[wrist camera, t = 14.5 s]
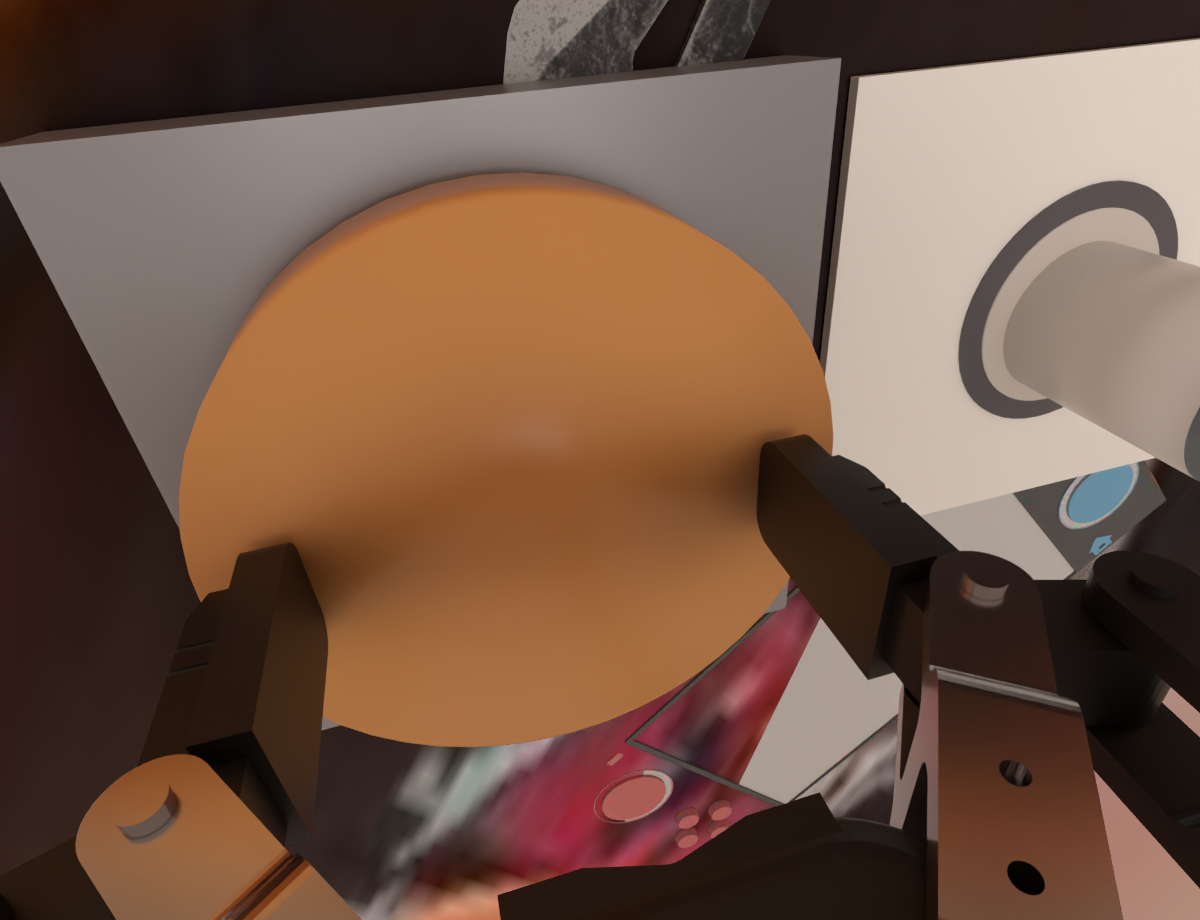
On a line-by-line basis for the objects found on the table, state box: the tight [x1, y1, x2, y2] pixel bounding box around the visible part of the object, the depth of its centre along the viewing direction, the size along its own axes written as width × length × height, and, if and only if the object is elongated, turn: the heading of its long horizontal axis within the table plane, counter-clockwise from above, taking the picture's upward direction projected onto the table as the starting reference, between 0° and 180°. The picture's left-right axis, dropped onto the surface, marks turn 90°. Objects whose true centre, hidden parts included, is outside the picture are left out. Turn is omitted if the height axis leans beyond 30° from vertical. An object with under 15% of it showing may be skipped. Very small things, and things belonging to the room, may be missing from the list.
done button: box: [179, 172, 833, 747], centre depth 13 cm, size 11×11×2 cm
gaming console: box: [594, 460, 1166, 848], centre depth 24 cm, size 22×1×10 cm
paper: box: [820, 38, 1200, 516], centre depth 18 cm, size 12×14×1 cm
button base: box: [0, 55, 841, 730], centre depth 15 cm, size 13×13×2 cm
